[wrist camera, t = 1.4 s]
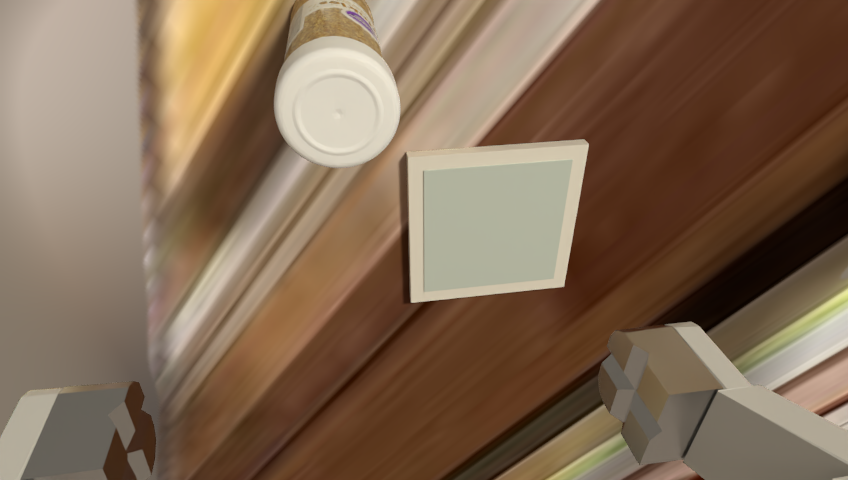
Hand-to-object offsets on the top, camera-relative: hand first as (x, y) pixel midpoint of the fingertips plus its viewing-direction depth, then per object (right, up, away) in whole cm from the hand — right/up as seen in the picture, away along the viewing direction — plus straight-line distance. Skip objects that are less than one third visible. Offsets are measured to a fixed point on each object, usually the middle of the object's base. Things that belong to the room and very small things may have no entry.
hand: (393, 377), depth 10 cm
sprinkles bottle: (-5, +14, +21) cm, 26 cm away
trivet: (+5, +4, +30) cm, 31 cm away
